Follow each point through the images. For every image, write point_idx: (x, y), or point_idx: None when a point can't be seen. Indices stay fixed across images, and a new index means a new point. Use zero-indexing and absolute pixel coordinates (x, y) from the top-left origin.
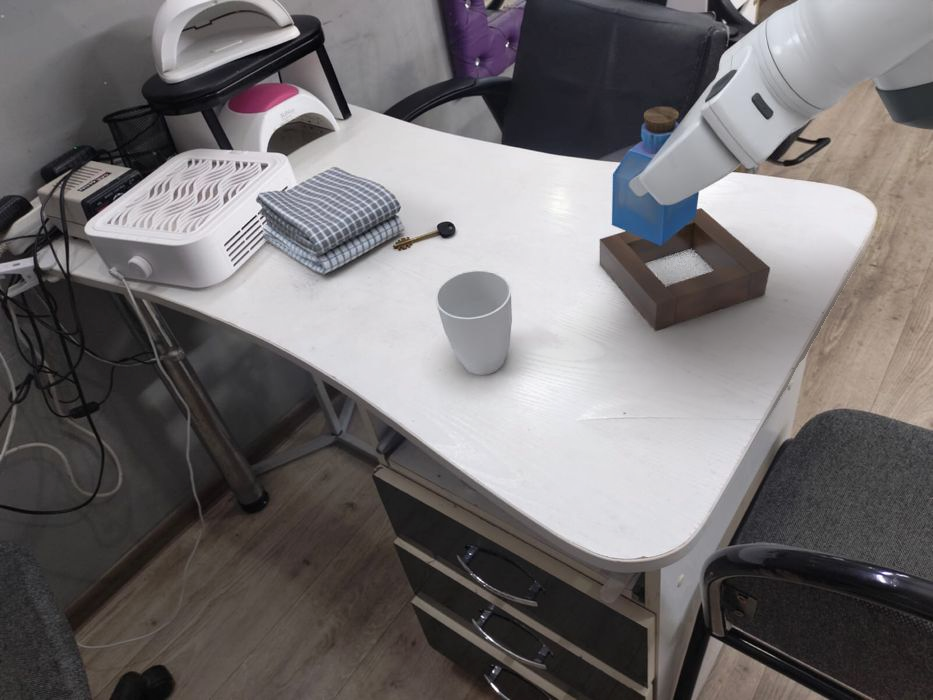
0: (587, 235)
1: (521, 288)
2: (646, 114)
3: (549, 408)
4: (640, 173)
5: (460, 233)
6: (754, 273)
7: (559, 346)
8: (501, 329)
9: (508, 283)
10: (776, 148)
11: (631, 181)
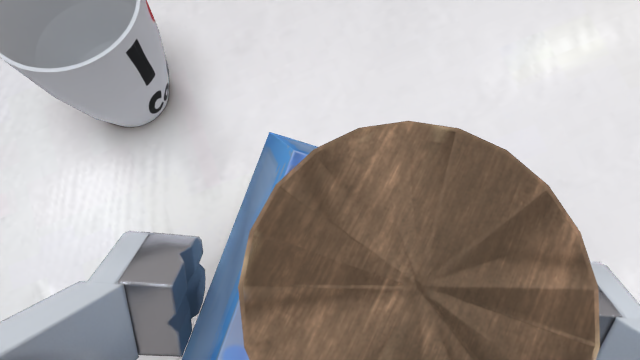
0: (499, 129)
1: (316, 81)
2: (379, 147)
3: (53, 231)
4: (119, 274)
5: None
6: None
7: (196, 192)
8: (56, 94)
9: (107, 52)
10: None
11: (120, 240)
